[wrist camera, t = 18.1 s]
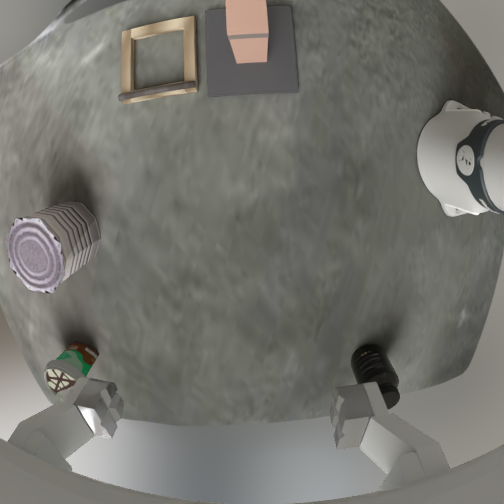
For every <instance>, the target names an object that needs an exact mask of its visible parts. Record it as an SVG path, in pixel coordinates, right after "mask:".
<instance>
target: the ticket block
mask: <svg viewBox="0 0 504 504" xmlns="http://www.w3.org/2000/svg"><path fill="white" fill-rule="evenodd" d="M226 25H227V36H228V39H229V41H230V44H231V47H232V50H233V53H234V56H235V59H236V62H237V64H238V63H254V62H267V49H268V37H269V29H268V16H267V4H266V0H226Z"/></svg>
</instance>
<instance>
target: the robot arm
mask: <svg viewBox="0 0 504 504" xmlns="http://www.w3.org/2000/svg"><path fill="white" fill-rule="evenodd" d="M457 108H458V109H457ZM417 160H418V167H419V171H420V174H421V177H422V179H423V181H424V183H425V185H426V186H427V188H428V189H429V191H430V192H431V193H432V194H433V195H434V196H435V197H436V198H437V199H438V200H439V201H440V203H441V205H442V208H443V210H444V212H445V213H446V215H448V216H457V215H461V214H465V213H471V214H474V215H479V213H482V212H486V211H489V210H490V211H492V212H495V213H498V214H503V215H504V120H503V119H502V118H500V117H497V116H492V117H491V118H490V113H488V112H484V111H483V112H481V110H478V109H470V108H468V107H466V106H464V105H462V104H460V103H458V102H456V101H453V100H448V101H447V102H446V103H445V104H444V106H443V108H442V110H441V112H440V113H439V114H438V115H436V116H435V117H433V118H432V119H431V120H429V121H428V123H427V124H426V125H425V127H424V128H423V130H422V132H421V135H420V138H419V142H418V148H417ZM116 391H117V387H116V385H115V383H112V382H108V381H103V380H98V379H93V378H87V377H80V378H78V380H77V381H76V383H75V384H74V386H73V387H72V389H71V390H70V392H69V393H68V395H67V396H66V398H65V399H64V401H63V402H61V401H60V402H58V403H56V404H54V405H52V406H50V407H49V408H47V409H45V410H43V411H41V412H39V413H37V414H35V415H33V416H31V417H30V418H28V419H26V420H24V421H22V422H20V423H19V425H18V426H17V428H16V429H15V431H14V432H13V434H12V435H11V437H10V438H9V440H8V441H7V442H6V441H5V440H3V439H1V438H0V504H223V503H210V502H200V501H191V500H183V499H177V498H170V497H164V496H159V495H154V494H149V493H144V492H140V491H135V490H131V489H126V488H123V487H119V486H115V485H112V484H108V483H105V482H102V481H98V480H95V479H92V478H89V477H86V476H83V475H80V474H77V473H75V472H72V467H71V466H70V465H69V464H68V462H67V461H66V460H65V459H66V458H67V457H68V456H70V455H71V454H72V453H73V452H75V451H76V450H77V449H79V448H80V447H81V446H83V445H84V444H85V443H86V442H88V441H89V440H90V439H91V438H92V437H94V435H97V436H101V437H105V438H110V439H112V438H113V435H114V433H115V431H116V429H117V425H116V422H117V421H118V420H120V419H121V417H122V415H123V411H124V404H123V400H122V398H121V397H120V396H119V395H118V394H117V393H116ZM333 397H334V401H333V402H331V408H330V417H331V423H332V427H334V428H335V432H334V439H335V444H336V449H345V448H353V447H360V449H361V450H362V451H363V452H364V453H365V454H366V455H367V456H368V457H369V458H371V459H372V460H373V461H374V462H375V463H376V464H377V465H378V466H379V467H380V468H381V469H382V470H383V471H384V472H385V473H386V474H388V476H387V477H386V478H385V480H384V482H383V483H382V485H381V486H380V487H379V491H377V492H372V493H368V494H363V495H358V496H352V497H346V498H341V499H333V500H326V501H318V502H307V503H294V504H504V445H502V446H500V447H498V448H496V449H494V450H492V451H490V452H488V453H486V454H484V455H482V456H480V457H477V458H475V459H473V460H471V461H468V462H466V463H464V464H462V465H459V466H457V467H454V468H452V469H450V467H449V464H448V462H447V460H446V458H445V455H444V453H443V451H442V448H441V446H440V444H439V443H438V442H437V441H435V440H434V439H432V438H431V437H429V436H428V435H426V434H424V433H423V432H421V431H420V430H418V429H417V428H415V427H413V426H412V425H410V424H409V423H407V422H406V421H404V420H403V419H401V418H400V417H398V416H397V415H395V414H394V413H390V414H389V412H388V409H387V407H386V404H385V402H384V399H383V397H382V394H381V392H380V389H379V387H378V384H377V383H376V382H370V383H364V384H356V385H349V386H340V387H335V388H334V391H333Z"/></svg>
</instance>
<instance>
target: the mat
mask: <svg viewBox="0 0 504 504" xmlns="http://www.w3.org/2000/svg"><path fill="white" fill-rule="evenodd" d="M267 16H268V29H269V37H268V49H267V62H254V63H238V64H237V62H236V59H235V56H234V53H233V50H232V47H231V44H230V41H229V39H228V36H227V25H226V8H224V9H215V10H207V11H205V19H206V57H207V83H208V97H217V96H229V95H242V94H262V93H298V79H297V66H296V53H295V42H294V31H293V21H292V12H291V6H267Z"/></svg>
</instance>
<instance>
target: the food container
mask: <svg viewBox="0 0 504 504" xmlns="http://www.w3.org/2000/svg"><path fill="white" fill-rule="evenodd" d="M98 355H99V354H98V353H97V352H96V351H95V350H94V349H92V348H91V347H90V346H88V345H86V344H84V343H80V342H75V343H72V344H71V345H70V346H69V347H68V348H67V349H66V350H65V351H64V352H63V353H62V354H61V355H60V356H59V357H58V358H57V359H56V360H52V361H50V362H49V363H48V364H47V366H46V369H45V372H44V380H45V383H46V385H47V387H48V388H49V390H50V391H51V392H52V394H53V395H54V396H55V395H56V394H57V392H59V391H61V390H64V389H68V388H69V387H71V386H73V385H74V384H75V383H76V381H77V380H78V378H80V377H86V375H87V374H88V372H89V370H90V369H91V367H92V365H93V364H94V362H95V360H96V359H97V357H98Z"/></svg>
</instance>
